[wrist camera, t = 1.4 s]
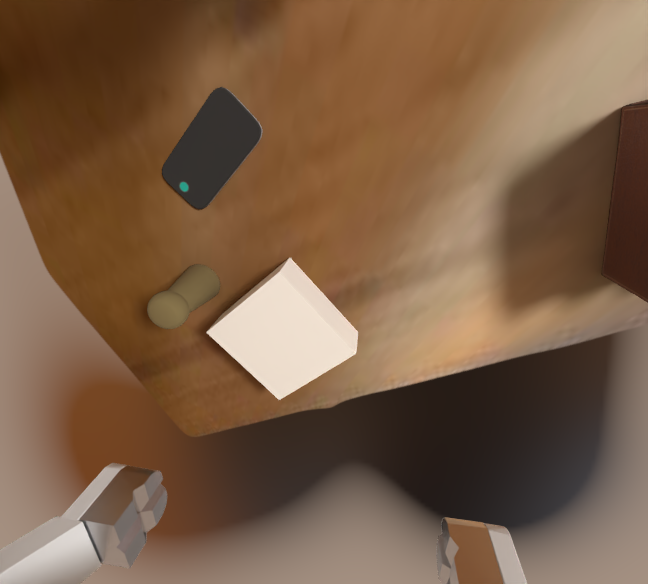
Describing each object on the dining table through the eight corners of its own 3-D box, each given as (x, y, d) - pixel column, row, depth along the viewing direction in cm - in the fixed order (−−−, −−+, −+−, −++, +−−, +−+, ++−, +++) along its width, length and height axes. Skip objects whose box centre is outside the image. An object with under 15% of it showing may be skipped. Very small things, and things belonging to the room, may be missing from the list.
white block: (223, 312, 54) (206, 332, 48) (290, 256, 48) (279, 271, 42) (288, 375, 58) (279, 400, 52) (358, 330, 51) (356, 353, 46)
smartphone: (156, 173, 44) (218, 80, 38) (160, 172, 45) (222, 81, 39) (200, 214, 46) (266, 131, 40) (203, 213, 47) (268, 131, 41)
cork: (210, 305, 53) (172, 344, 43) (178, 283, 52) (132, 318, 42) (226, 279, 50) (190, 314, 41) (193, 256, 49) (148, 286, 40)
